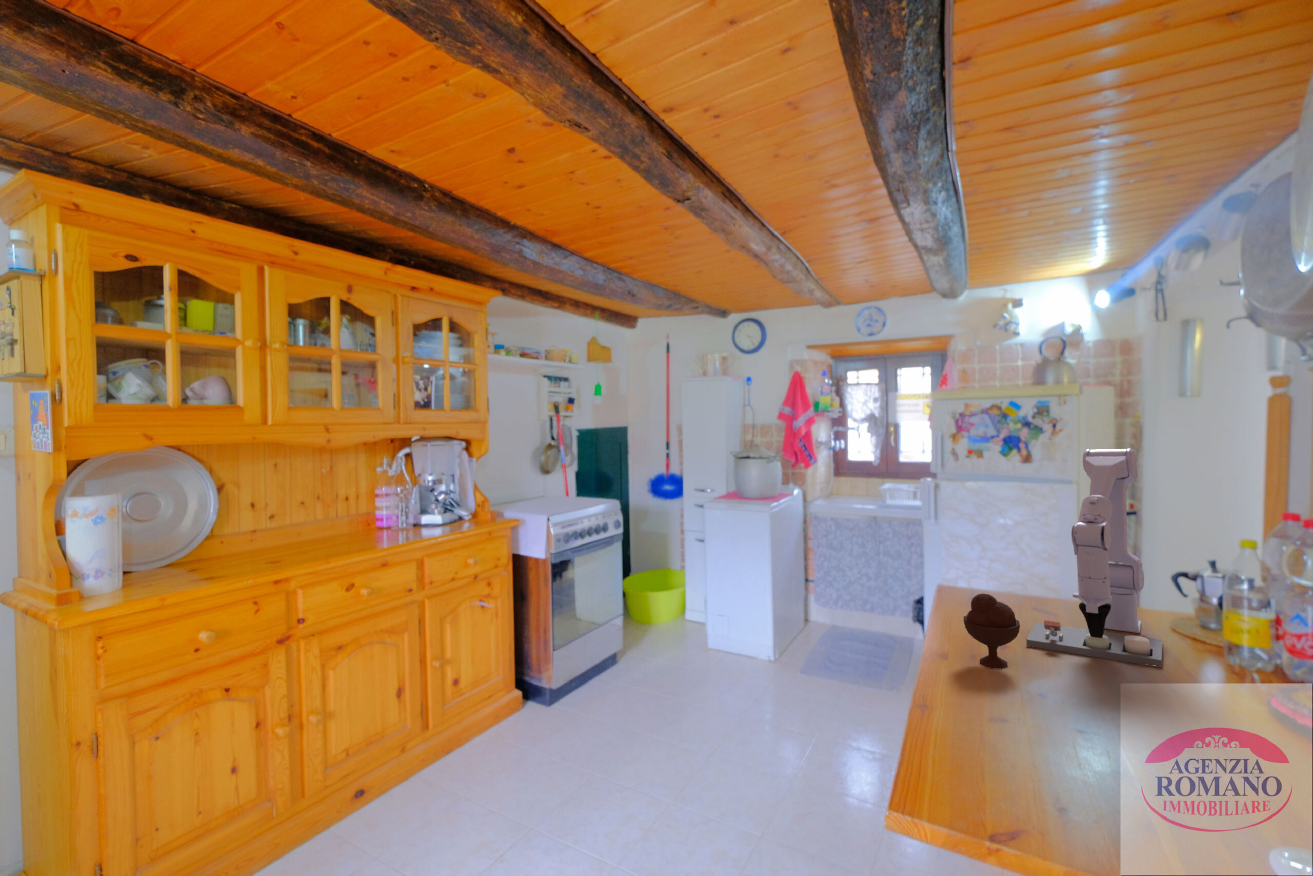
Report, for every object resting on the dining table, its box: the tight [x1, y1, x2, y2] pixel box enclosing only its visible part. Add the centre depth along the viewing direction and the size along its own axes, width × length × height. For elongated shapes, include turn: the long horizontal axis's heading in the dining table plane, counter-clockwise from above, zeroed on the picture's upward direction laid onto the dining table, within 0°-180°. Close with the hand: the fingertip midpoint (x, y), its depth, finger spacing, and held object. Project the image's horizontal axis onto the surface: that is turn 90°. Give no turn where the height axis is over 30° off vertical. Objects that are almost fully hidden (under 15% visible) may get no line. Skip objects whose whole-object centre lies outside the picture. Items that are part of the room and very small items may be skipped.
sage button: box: [1085, 633, 1110, 650], centre depth 132 cm, size 4×4×3 cm
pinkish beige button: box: [1124, 635, 1151, 656], centre depth 128 cm, size 4×4×3 cm
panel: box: [1025, 622, 1163, 667], centre depth 135 cm, size 14×24×2 cm, turn 50°
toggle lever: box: [1043, 619, 1062, 637], centre depth 137 cm, size 1×3×4 cm
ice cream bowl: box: [963, 592, 1021, 670], centre depth 129 cm, size 11×11×15 cm
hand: (1096, 636), depth 132 cm, fingers closed, pressing on sage button
